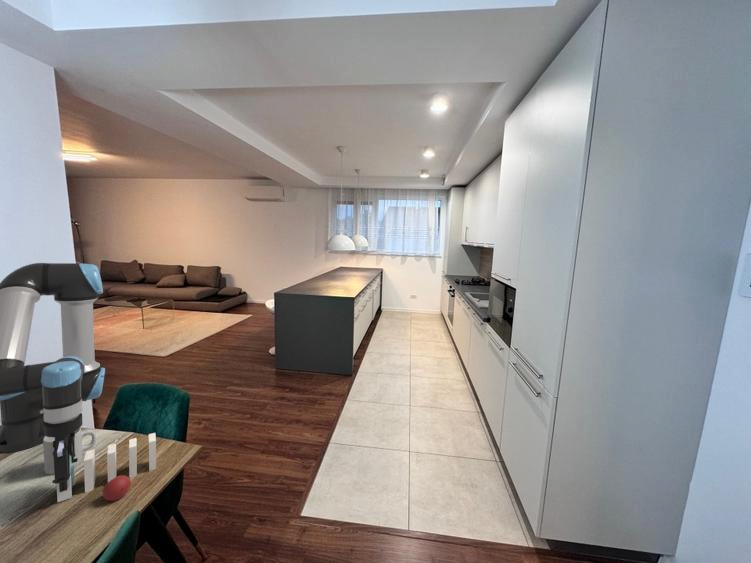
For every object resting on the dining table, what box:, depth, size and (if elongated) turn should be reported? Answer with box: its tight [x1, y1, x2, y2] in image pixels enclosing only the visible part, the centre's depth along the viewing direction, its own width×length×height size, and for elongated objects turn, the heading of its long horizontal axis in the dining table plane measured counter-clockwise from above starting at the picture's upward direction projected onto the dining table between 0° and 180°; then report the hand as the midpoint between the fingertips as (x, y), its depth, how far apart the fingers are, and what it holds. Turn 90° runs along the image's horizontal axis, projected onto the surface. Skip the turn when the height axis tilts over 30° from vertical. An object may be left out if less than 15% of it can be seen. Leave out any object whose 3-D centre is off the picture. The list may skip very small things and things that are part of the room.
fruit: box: [102, 474, 132, 502], centre depth 85 cm, size 6×6×8 cm
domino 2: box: [83, 448, 96, 493], centre depth 88 cm, size 2×5×10 cm, turn 39°
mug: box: [42, 427, 97, 476], centre depth 96 cm, size 12×8×11 cm
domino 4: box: [128, 437, 138, 479], centre depth 94 cm, size 2×5×10 cm, turn 39°
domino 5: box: [148, 432, 157, 472], centre depth 97 cm, size 2×5×10 cm, turn 39°
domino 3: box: [106, 442, 118, 483], centre depth 91 cm, size 2×5×10 cm, turn 39°
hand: (66, 492), depth 85 cm, fingers closed on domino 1, 5 cm apart
